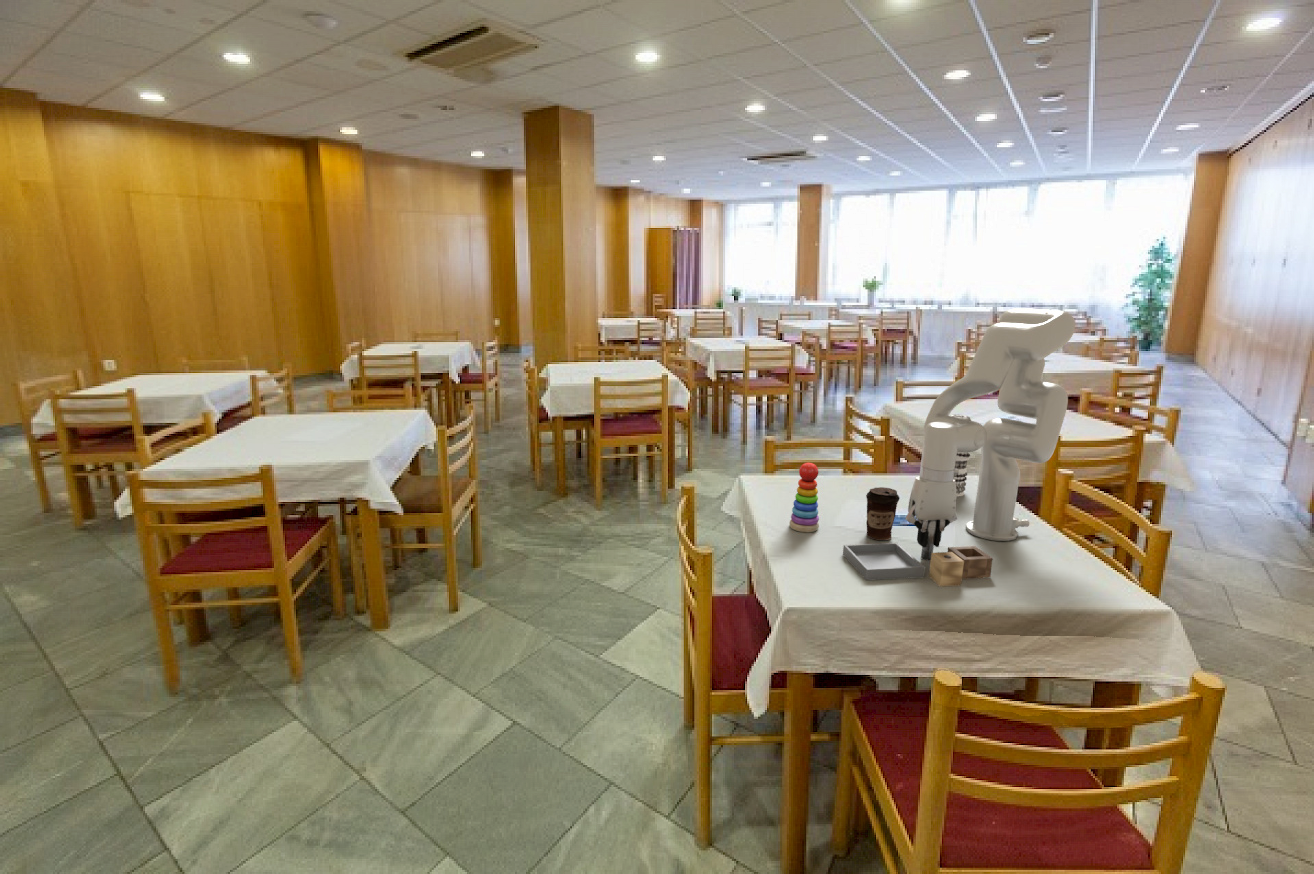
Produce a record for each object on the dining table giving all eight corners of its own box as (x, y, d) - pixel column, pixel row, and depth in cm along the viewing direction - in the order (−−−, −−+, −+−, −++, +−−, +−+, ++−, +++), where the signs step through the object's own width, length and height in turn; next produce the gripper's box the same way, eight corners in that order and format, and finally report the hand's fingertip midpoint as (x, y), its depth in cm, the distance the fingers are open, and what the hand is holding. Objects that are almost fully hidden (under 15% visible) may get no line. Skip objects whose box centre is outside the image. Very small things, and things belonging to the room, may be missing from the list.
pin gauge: (928, 555, 166) (934, 510, 163) (934, 560, 164) (939, 514, 161) (918, 556, 166) (924, 510, 163) (924, 560, 163) (929, 514, 160)
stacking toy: (783, 528, 183) (787, 462, 178) (798, 520, 189) (802, 456, 184) (809, 535, 178) (814, 468, 173) (823, 527, 184) (828, 462, 179)
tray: (896, 552, 168) (897, 542, 167) (923, 577, 155) (925, 567, 154) (842, 554, 166) (843, 544, 166) (866, 579, 153) (867, 569, 152)
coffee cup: (897, 544, 173) (902, 497, 169) (864, 541, 174) (868, 494, 171) (892, 531, 181) (897, 486, 178) (861, 529, 183) (865, 484, 179)
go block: (972, 565, 162) (975, 546, 160) (989, 578, 155) (992, 558, 154) (945, 566, 161) (948, 547, 160) (961, 579, 154) (964, 559, 153)
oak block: (948, 575, 156) (952, 551, 154) (960, 585, 151) (964, 561, 149) (928, 576, 155) (931, 552, 154) (939, 586, 150) (943, 561, 149)
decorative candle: (931, 492, 213) (940, 416, 207) (939, 485, 220) (948, 411, 214) (961, 498, 208) (971, 420, 201) (968, 491, 215) (979, 415, 208)
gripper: (959, 468, 164) (950, 537, 168) (897, 470, 162) (889, 540, 167) (977, 477, 157) (967, 550, 161) (912, 479, 155) (904, 552, 159)
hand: (928, 544), depth 164 cm, fingers closed on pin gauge, 2 cm apart
